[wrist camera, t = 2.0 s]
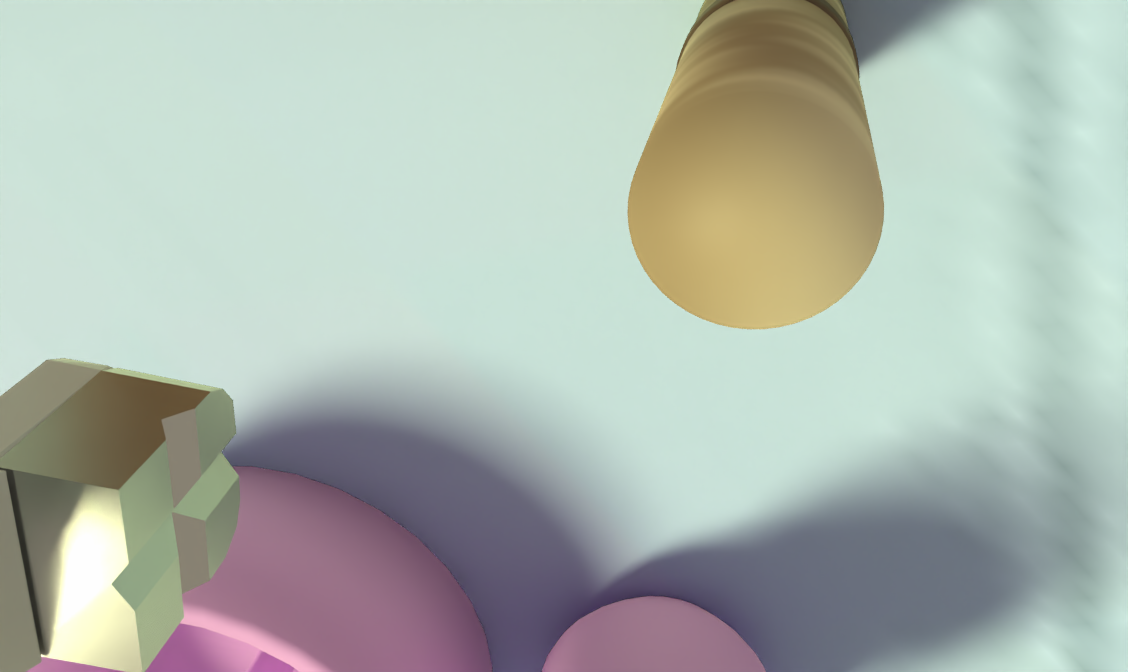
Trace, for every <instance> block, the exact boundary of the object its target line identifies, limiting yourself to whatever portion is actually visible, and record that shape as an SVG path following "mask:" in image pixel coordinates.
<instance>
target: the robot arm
mask: <svg viewBox="0 0 1128 672" xmlns="http://www.w3.org/2000/svg"><path fill="white" fill-rule="evenodd" d="M235 434H236V425H235V416H234V406H233V400H232V399H231V398H230V396H229V395H228V394H227V393H226V392H225V391H224V389H221V388H216V387H211V386H206V385H201V384H196V383H191V382H186V381H181V380H176V379H171V378H166V377H161V376H156V375H151V374H146V373H141V372H136V371H131V370H126V369H121V368H112V367H110V366H107V365H101V364H95V363H89V362H83V361H78V360H72V359H66V358H60V359H50V360H46V361H45V362H44V363H42V364H41V365H40V366H38V367H37V368H36V369H35V370H33V371H32V372H31V373H29V374H28V375H27V376H26V377H24V378H23V379H22V380H21V381H19V382H18V383H17V384H15V385H14V386H13V387H12V388H10V389H9V390H8V391H7V392H5V393H4V394H3V395H1V396H0V672H26V671H28V670H29V669H31V668H33V667H34V666H36V665H38V664H39V663H41V661H42V659H41V656H42V657H47V658H53V659H58V660H64V661H69V662H75V663H80V664H86V665H91V666H97V667H103V668H108V669H114V670H119V671H125V672H145V671H146V670H147V668H148V667H149V665H150V664H151V663H152V661H153V660H154V658H155V657H156V656H157V654H158V653H159V651H160V650H161V649H162V647H163V646H164V644H165V643H166V642H167V640H168V639H169V637H170V636H171V635H172V633H173V632H174V630H175V629H176V628H177V626H178V625H179V623H180V622H181V621H182V619H183V618H184V611H183V600H182V594H183V593H185V592H187V591H190V590H192V589H194V588H196V587H198V586H200V585H202V584H204V583H206V582H208V581H210V580H211V578H212V577H213V575H214V574H215V572H216V571H217V569H218V568H219V566H220V565H221V563H222V562H223V560H224V559H225V557H226V554H227V552H228V549H229V546H230V543H231V541H232V538H233V535H234V533H235V530H236V527H237V521H238V513H239V505H240V485H239V475H238V474H237V473H236V471H235V470H234V469H233V467H232V466H231V465H230V463H229V462H228V461H227V459H226V458H225V457H224V455H223V454H222V450H223V449H224V448H225V447H226V445H227V444H228V443H229V442H230V440H231V439H232V438H233V437H234V435H235Z"/></svg>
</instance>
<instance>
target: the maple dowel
mask: <svg viewBox="0 0 1128 672" xmlns="http://www.w3.org/2000/svg"><path fill="white" fill-rule="evenodd" d="M883 220H884V201H883V192H882V186H881V181H880V176H879V172H878V167H877V162H876V157H875V153H874V148H873V143H872V138H871V134H870V129H869V124H868V119H867V115H866V110H865V105H864V100H863V96H862V91H861V86H860V81H859V66H858V59H857V55H856V50H855V46H854V42H853V39H852V36H851V34H850V31H849V29H848V24H847V20H846V15H845V12H844V8H843V5H842V3H841V0H705V1H704V3H703V5H702V7H701V9H700V12H699V14H698V17H697V19H696V22H695V24H694V25H693V27H692V28H691V30H690V32H689V34H688V36H687V38H686V40H685V43H684V45H683V48H682V50H681V53H680V56H679V59H678V62H677V67H676V71H675V74H674V76H673V79H672V81H671V84H670V86H669V89H668V91H667V94H666V96H665V99H664V101H663V104H662V106H661V109H660V111H659V114H658V116H657V119H656V121H655V123H654V126H653V128H652V131H651V133H650V136H649V138H648V141H647V143H646V146H645V148H644V151H643V153H642V156H641V158H640V161H639V163H638V166H637V168H636V171H635V174H634V177H633V180H632V183H631V188H630V193H629V198H628V223H629V231H630V235H631V240H632V244H633V246H634V249H635V252H636V255H637V257H638V259H639V261H640V263H641V265H642V267H643V268H644V270H645V272H646V273H647V274H648V276H649V277H650V279H651V280H652V282H653V283H654V284H655V285H656V286H657V287H658V288H659V289H660V290H661V292H662V293H663V294H665V295H666V296H667V297H668V298H669V299H670V300H672V301H673V302H674V303H675V304H677V305H678V306H680V307H681V308H683V309H684V310H686V311H687V312H689V313H691V314H693V315H695V316H697V317H699V318H701V319H704V320H707V321H710V322H713V323H715V324H719V325H723V326H728V327H733V328H742V329H768V328H776V327H782V326H786V325H790V324H794V323H797V322H800V321H803V320H805V319H808V318H811V317H812V316H814V315H816V314H818V313H820V312H822V311H824V310H826V309H827V308H829V307H830V306H832V305H833V304H834V303H836V302H837V301H839V300H840V299H841V298H842V297H843V296H844V295H845V294H847V293H848V292H849V291H850V290H851V289H852V287H853V286H854V285H855V284H856V283H857V282H858V281H859V280H860V278H861V277H862V275H863V274H864V272H865V271H866V269H867V268H868V266H869V264H870V262H871V260H872V258H873V256H874V254H875V252H876V249H877V246H878V243H879V240H880V237H881V232H882V226H883Z"/></svg>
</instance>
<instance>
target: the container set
mask: <svg viewBox="0 0 1128 672" xmlns="http://www.w3.org/2000/svg"><path fill="white" fill-rule="evenodd" d="M232 467H233V469H234V470H235V471H236V473H237V474H238V475H239V485H240V505H239V513H238V521H237V527H236V530H235V533H234V535H233V538H232V541H231V543H230V546H229V549H228V552H227V554H226V557H225V559H224V560H223V562H222V563H221V565H220V566H219V568H218V569H217V571H216V572H215V574H214V575H213V577H212V578H211V580H210V581H208V582H206V583H204V584H202V585H200V586H198V587H196V588H194V589H192V590H190V591H187V592H185V593H183V594H182V600H183V611H184V618H183V619H182V621H181V622H180V623H179V625H178V626H177V628H176V629H175V630H174V632H173V633H172V635H171V636H170V637H169V639H168V640H167V642H166V643H165V644H164V646H163V647H162V649H161V650H160V651H159V653H158V654H157V656H156V657H155V658H154V660H153V661H152V663H151V664H150V665H149V667H148V668H147V670H146V671H145V672H492V663H491V658H490V653H489V648H488V643H487V638H486V634H485V632H484V630H483V627H482V625H481V623H480V621H479V619H478V616H477V614H476V612H475V610H474V607H473V605H472V603H471V601H470V599H469V598H468V597H467V595H466V594H465V592H464V591H463V589H462V588H461V587H460V585H459V584H458V582H457V581H456V580H455V578H454V577H453V575H452V574H451V572H450V571H449V570H448V568H447V567H446V566H445V565H444V564H443V563H442V562H441V561H440V560H439V559H438V558H437V557H436V556H435V555H434V554H433V553H432V552H431V551H430V550H429V549H428V548H427V547H426V546H425V545H424V544H423V543H422V542H421V541H420V540H419V539H418V538H417V537H416V536H414V535H413V534H412V533H410V532H409V531H408V530H406V529H405V528H404V527H402V526H401V525H399V524H398V523H397V522H395V521H394V520H393V519H391V518H390V517H388V516H387V515H386V514H384V513H383V512H382V511H380V510H378V509H377V508H375V507H373V506H371V505H369V504H367V503H365V502H363V501H361V500H359V499H357V498H355V497H353V496H352V495H350V494H348V493H346V492H344V491H342V490H340V489H338V488H335V487H332V486H329V485H326V484H323V483H320V482H317V481H314V480H311V479H309V478H306V477H303V476H300V475H297V474H293V473H287V472H281V471H275V470H270V469H264V468H258V467H253V466H232ZM41 659H42V661H41V663H39V664H38V665H36V666H34V667H33V668H31V669H29V670H28V671H26V672H125V671H119V670H114V669H108V668H103V667H97V666H91V665H86V664H80V663H75V662H69V661H64V660H58V659H53V658H47V657H42V656H41ZM542 672H766V671H765V668H764V667H763V665H762V663H761V662H760V660H759V658H758V657H757V655H756V653H755V652H754V651H753V650H752V649H751V647H750V646H749V645H748V644H747V643H746V642H745V641H744V640H743V639H742V638H741V637H740V635H739V634H738V633H737V632H736V631H735V630H733V629H732V628H731V627H729V626H728V625H727V624H725V623H724V622H723V621H722V620H720V619H719V618H717V617H716V616H715V615H713V614H711V613H709V612H708V611H706V610H704V609H702V608H700V607H698V606H696V605H695V604H692V603H689V602H686V601H683V600H680V599H676V598H670V597H665V596H644V597H637V598H632V599H625V600H622V601H619V602H615V603H612V604H609V605H606V606H603V607H601V608H599V609H597V610H595V611H593V612H591V613H590V614H588V615H586V616H584V617H582V618H580V619H579V620H577V621H576V622H575V623H574V624H573V625H572V626H571V627H569V628H568V629H567V630H566V631H565V632H564V633H563V635H562V636H561V637H560V639H559V640H558V641H557V643H556V644H555V645H554V647H553V648H552V650H551V651H550V652H549V654H548V655H547V658H546V661H545V663H544V666H543V669H542Z"/></svg>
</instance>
